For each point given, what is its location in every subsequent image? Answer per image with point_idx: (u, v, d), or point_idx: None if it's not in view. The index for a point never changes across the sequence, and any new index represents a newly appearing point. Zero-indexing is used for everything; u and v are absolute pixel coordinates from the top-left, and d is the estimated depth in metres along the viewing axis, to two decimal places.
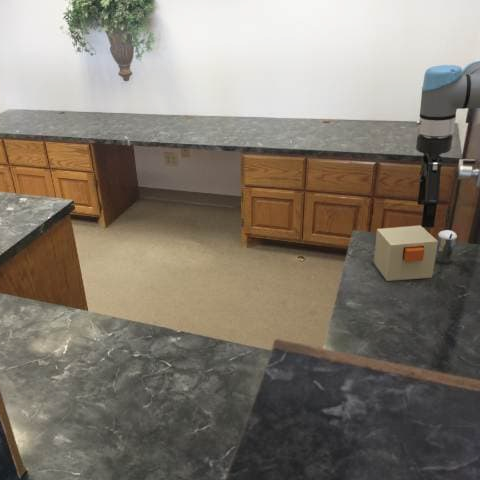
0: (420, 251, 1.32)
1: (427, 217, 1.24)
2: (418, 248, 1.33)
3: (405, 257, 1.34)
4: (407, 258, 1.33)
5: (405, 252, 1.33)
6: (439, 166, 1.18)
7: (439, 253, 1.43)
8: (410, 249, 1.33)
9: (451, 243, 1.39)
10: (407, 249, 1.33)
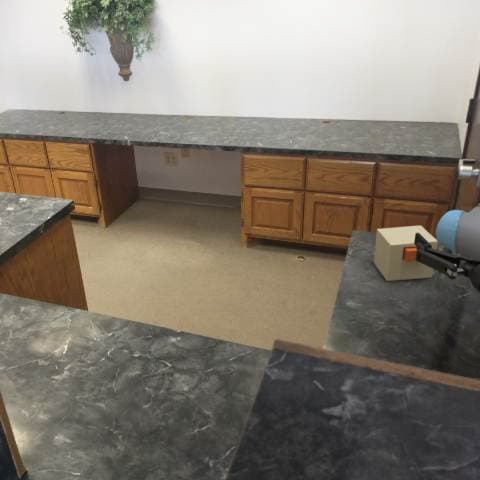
0: None
1: None
2: None
3: (405, 257, 1.34)
4: (407, 258, 1.33)
5: (405, 252, 1.33)
6: None
7: None
8: (410, 249, 1.33)
9: None
10: (407, 249, 1.33)
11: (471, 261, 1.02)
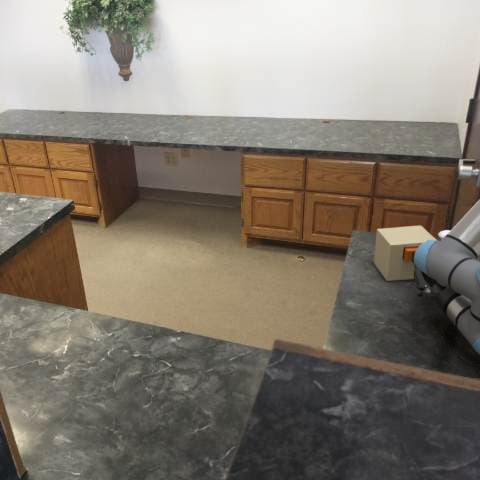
0: None
1: None
2: None
3: (405, 257, 1.34)
4: (407, 258, 1.33)
5: (405, 252, 1.33)
6: None
7: None
8: (410, 249, 1.33)
9: None
10: (407, 249, 1.33)
11: (438, 284, 1.17)
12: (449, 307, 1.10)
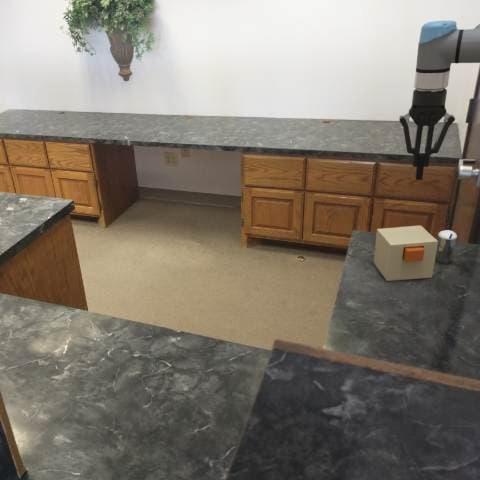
0: (420, 251, 1.32)
1: (416, 168, 1.36)
2: (418, 248, 1.33)
3: (405, 257, 1.34)
4: (407, 258, 1.33)
5: (405, 252, 1.33)
6: (400, 122, 1.32)
7: (439, 253, 1.43)
8: (410, 249, 1.33)
9: (451, 243, 1.39)
10: (407, 249, 1.33)
11: (435, 119, 1.28)
12: (447, 83, 1.24)
